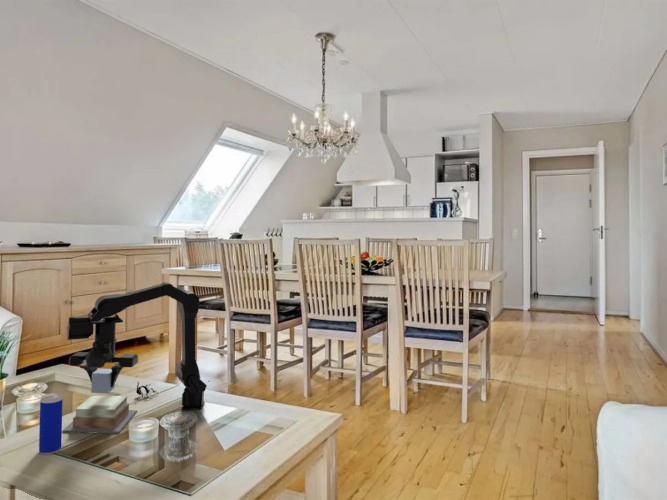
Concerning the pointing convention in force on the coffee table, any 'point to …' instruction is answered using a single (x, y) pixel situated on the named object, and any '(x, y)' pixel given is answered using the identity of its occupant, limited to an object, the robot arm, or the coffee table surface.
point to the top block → (102, 381)
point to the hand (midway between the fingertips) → (103, 386)
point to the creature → (145, 390)
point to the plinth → (100, 420)
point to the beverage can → (50, 423)
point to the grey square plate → (102, 430)
